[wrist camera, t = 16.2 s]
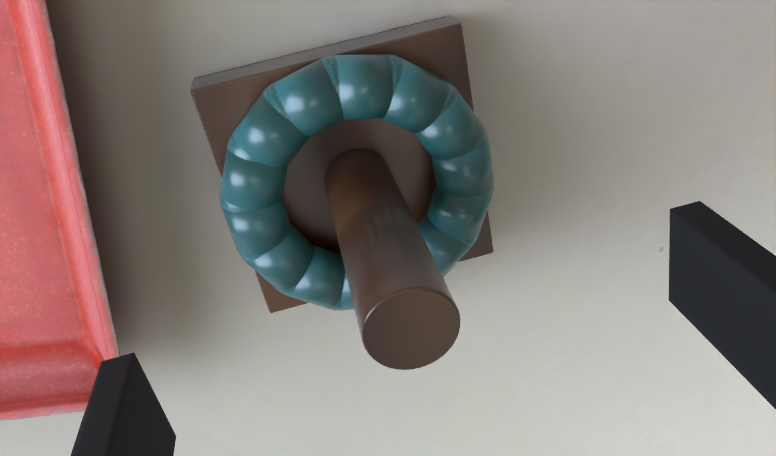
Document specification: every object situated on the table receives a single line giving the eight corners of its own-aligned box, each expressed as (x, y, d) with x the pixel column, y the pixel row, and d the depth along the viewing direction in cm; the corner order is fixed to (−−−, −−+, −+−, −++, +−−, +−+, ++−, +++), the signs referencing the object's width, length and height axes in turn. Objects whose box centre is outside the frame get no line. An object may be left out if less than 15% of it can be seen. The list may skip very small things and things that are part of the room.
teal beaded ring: (462, 15, 22) (481, 27, 20) (495, 255, 26) (513, 282, 24) (183, 84, 21) (177, 103, 19) (267, 318, 26) (268, 350, 24)
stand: (449, 14, 23) (581, 105, 14) (482, 234, 27) (599, 413, 18) (193, 77, 22) (155, 216, 13) (269, 292, 27) (279, 507, 18)
